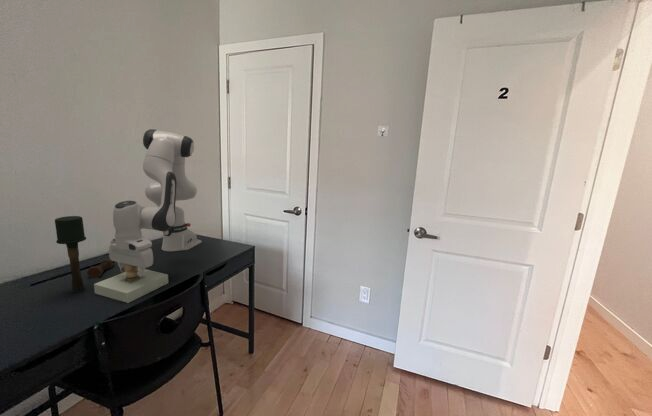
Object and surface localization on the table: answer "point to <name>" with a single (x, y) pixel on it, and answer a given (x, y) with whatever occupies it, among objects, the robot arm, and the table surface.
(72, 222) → the grenade
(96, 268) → the bolt
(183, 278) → the table surface
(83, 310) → the table surface
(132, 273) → the peg
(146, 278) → the board
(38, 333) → the table surface
